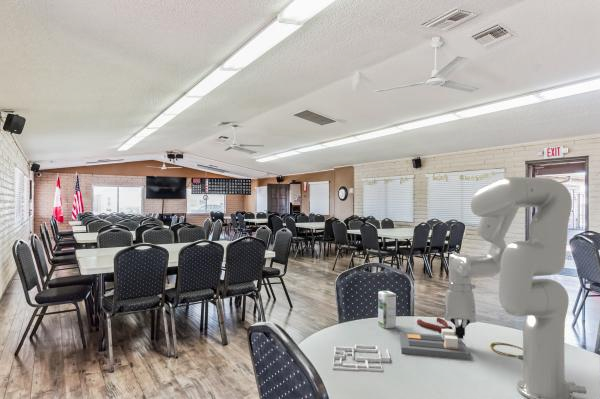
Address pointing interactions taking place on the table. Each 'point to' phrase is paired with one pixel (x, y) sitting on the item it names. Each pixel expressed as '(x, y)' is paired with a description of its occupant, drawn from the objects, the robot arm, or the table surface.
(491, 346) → the extension cord
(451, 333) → the tab
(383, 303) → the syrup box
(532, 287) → the robot arm
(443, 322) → the pliers
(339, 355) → the floor plan model
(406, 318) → the table surface
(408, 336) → the switch panel
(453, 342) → the tab
